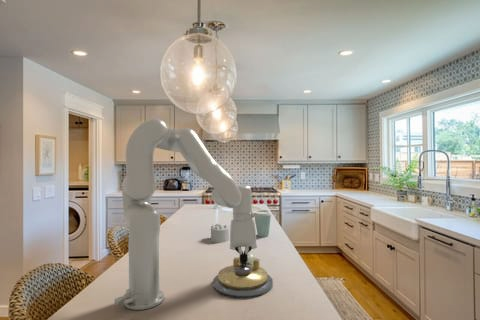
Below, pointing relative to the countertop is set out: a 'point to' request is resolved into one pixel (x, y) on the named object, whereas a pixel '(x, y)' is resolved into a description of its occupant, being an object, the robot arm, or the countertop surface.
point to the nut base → (243, 294)
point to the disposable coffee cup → (262, 222)
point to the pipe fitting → (250, 259)
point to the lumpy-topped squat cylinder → (219, 233)
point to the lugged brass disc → (242, 276)
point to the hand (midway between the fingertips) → (243, 263)
